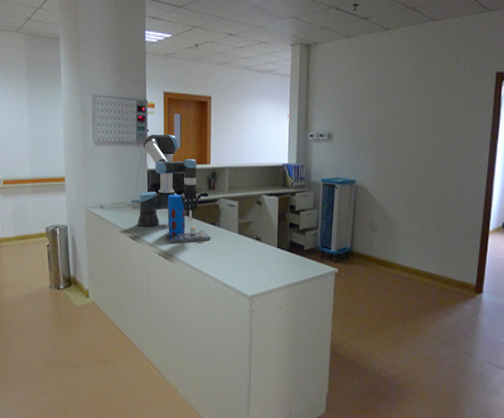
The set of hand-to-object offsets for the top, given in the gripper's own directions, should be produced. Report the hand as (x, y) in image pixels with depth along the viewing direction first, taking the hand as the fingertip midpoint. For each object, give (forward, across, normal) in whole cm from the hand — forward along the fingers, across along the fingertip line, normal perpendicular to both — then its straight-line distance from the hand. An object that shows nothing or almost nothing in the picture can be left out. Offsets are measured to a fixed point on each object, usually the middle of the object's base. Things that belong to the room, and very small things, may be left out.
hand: (190, 220), depth 257 cm
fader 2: (+9, +5, -9) cm, 14 cm away
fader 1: (+9, +2, -1) cm, 9 cm away
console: (+11, -3, -4) cm, 12 cm away
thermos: (+12, -5, +15) cm, 19 cm away
